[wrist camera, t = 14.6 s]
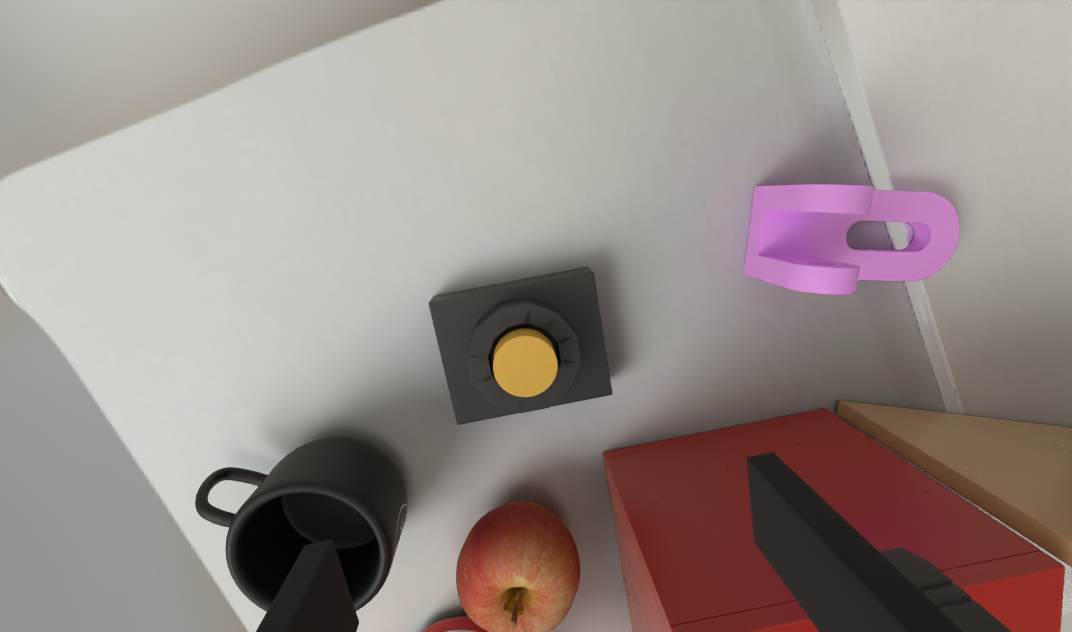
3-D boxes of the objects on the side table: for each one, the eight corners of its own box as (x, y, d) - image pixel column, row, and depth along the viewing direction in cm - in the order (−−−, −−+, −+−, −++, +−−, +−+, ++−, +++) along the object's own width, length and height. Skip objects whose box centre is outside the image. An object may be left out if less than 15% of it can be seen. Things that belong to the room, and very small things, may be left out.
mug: (431, 451, 35) (414, 514, 28) (387, 559, 37) (360, 643, 30) (256, 391, 34) (191, 442, 27) (218, 507, 35) (148, 583, 28)
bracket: (743, 274, 34) (804, 293, 27) (754, 186, 33) (820, 183, 26) (931, 278, 35) (1035, 299, 28) (949, 193, 33) (1063, 192, 27)
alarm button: (549, 322, 30) (551, 330, 28) (559, 380, 31) (562, 390, 29) (488, 334, 30) (487, 342, 28) (500, 391, 31) (500, 402, 29)
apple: (485, 595, 38) (481, 697, 30) (443, 506, 36) (427, 591, 28) (587, 558, 38) (609, 651, 30) (550, 467, 36) (563, 541, 28)
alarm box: (587, 266, 33) (598, 276, 29) (605, 382, 35) (618, 405, 31) (433, 296, 33) (423, 309, 29) (460, 411, 35) (454, 438, 31)
